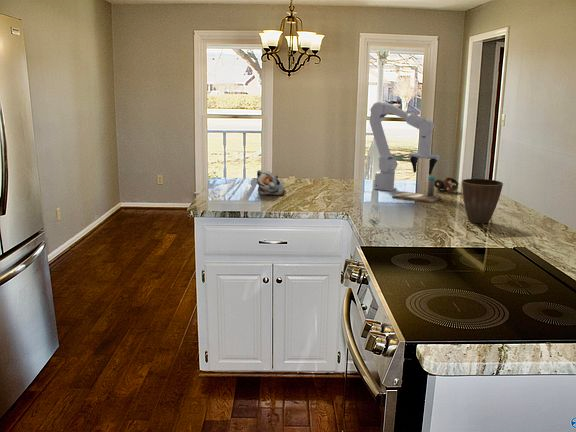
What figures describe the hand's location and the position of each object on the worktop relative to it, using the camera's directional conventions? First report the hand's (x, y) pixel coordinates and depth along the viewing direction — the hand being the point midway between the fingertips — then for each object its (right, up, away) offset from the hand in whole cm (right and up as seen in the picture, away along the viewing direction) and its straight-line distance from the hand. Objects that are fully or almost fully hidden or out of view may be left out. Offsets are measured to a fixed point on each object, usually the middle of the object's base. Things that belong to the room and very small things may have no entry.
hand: (422, 173), depth 264 cm
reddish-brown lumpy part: (+14, -9, +10) cm, 20 cm away
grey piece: (-74, -11, -7) cm, 75 cm away
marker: (+2, -11, -9) cm, 14 cm away
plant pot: (+9, -24, -53) cm, 58 cm away
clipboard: (-5, -13, -9) cm, 16 cm away
